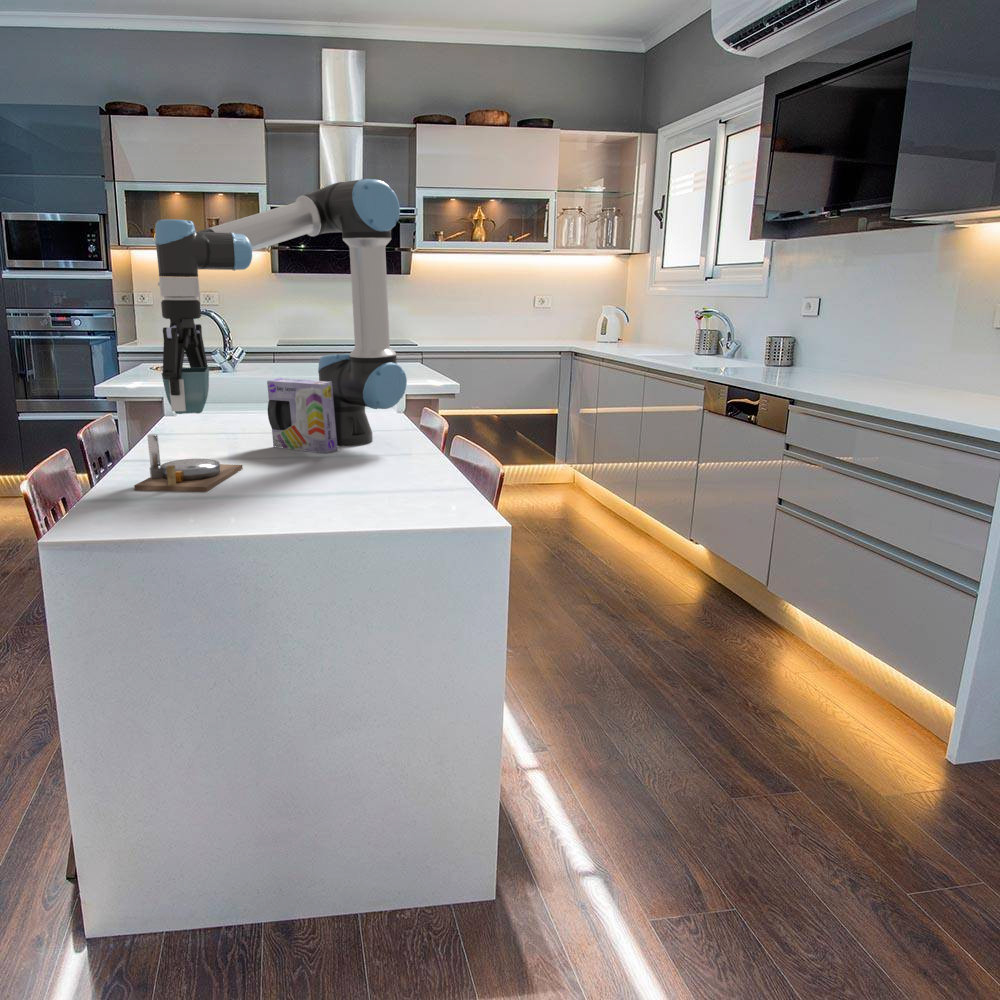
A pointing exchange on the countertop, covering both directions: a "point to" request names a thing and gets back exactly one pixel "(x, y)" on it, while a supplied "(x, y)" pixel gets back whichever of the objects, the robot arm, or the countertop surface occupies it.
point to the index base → (187, 485)
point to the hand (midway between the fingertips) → (189, 407)
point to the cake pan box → (302, 414)
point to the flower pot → (192, 389)
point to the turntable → (180, 465)
